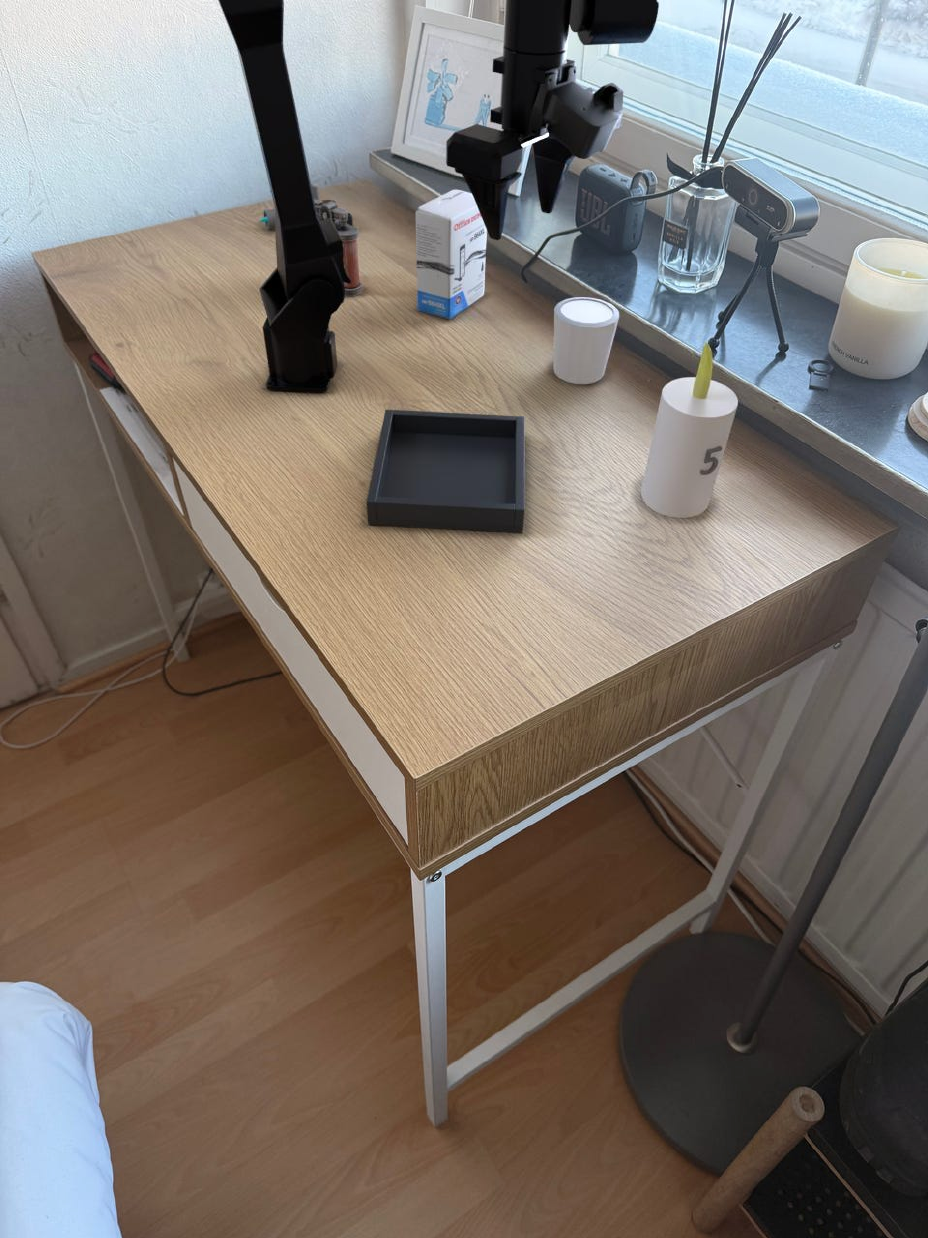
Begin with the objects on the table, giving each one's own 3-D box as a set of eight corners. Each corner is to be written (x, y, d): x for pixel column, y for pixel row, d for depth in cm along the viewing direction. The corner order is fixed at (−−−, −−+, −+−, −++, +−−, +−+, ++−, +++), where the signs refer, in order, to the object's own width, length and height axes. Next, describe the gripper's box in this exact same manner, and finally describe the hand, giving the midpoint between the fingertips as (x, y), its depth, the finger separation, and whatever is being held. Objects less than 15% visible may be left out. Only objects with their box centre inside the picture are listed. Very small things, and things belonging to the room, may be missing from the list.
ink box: (449, 321, 103) (450, 219, 95) (414, 310, 105) (413, 209, 96) (486, 294, 108) (491, 195, 100) (453, 284, 110) (454, 186, 102)
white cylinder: (607, 390, 93) (617, 329, 88) (543, 382, 94) (550, 321, 89) (612, 359, 98) (622, 299, 93) (551, 351, 99) (558, 292, 94)
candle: (667, 526, 77) (705, 375, 67) (627, 485, 81) (657, 336, 71) (724, 508, 79) (770, 359, 68) (683, 469, 83) (720, 322, 73)
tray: (367, 525, 76) (366, 501, 74) (386, 431, 87) (385, 409, 85) (522, 533, 76) (524, 509, 74) (522, 438, 86) (524, 416, 84)
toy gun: (256, 225, 121) (250, 188, 118) (337, 213, 125) (334, 177, 122) (275, 252, 115) (271, 215, 112) (361, 239, 119) (358, 202, 115)
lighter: (367, 289, 108) (362, 206, 101) (350, 299, 106) (344, 214, 99) (316, 272, 111) (309, 190, 104) (299, 282, 109) (290, 199, 102)
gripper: (553, 86, 69) (535, 278, 80) (664, 44, 80) (635, 219, 91) (443, 59, 74) (441, 245, 85) (562, 23, 84) (546, 192, 95)
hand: (521, 225), depth 89 cm, fingers open, 9 cm apart
